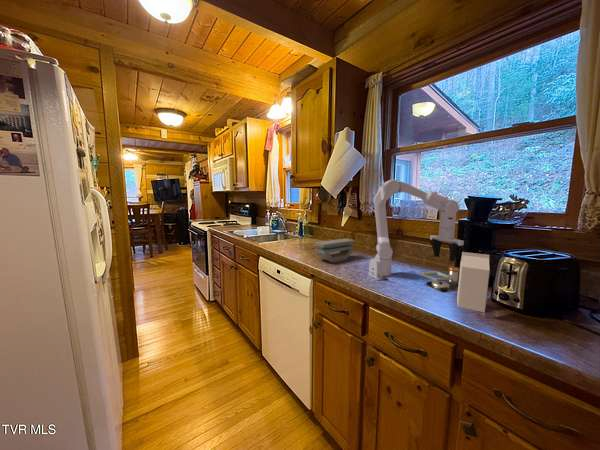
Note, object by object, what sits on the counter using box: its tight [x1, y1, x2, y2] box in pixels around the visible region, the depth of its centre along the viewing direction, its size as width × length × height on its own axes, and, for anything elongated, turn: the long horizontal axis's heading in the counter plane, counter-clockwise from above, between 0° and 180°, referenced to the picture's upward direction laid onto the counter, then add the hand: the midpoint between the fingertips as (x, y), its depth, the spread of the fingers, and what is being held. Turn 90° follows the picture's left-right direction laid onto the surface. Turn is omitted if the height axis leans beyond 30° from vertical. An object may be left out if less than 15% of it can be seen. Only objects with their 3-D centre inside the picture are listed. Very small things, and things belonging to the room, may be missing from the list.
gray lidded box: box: [313, 238, 356, 263], centre depth 139 cm, size 25×8×11 cm, turn 125°
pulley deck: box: [423, 280, 459, 294], centre depth 95 cm, size 13×9×4 cm
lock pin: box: [447, 266, 460, 287], centre depth 96 cm, size 4×4×7 cm
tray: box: [420, 270, 449, 282], centre depth 107 cm, size 9×8×2 cm
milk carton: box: [456, 251, 491, 317], centre depth 78 cm, size 7×7×19 cm
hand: (444, 258), depth 104 cm, fingers open, 7 cm apart
